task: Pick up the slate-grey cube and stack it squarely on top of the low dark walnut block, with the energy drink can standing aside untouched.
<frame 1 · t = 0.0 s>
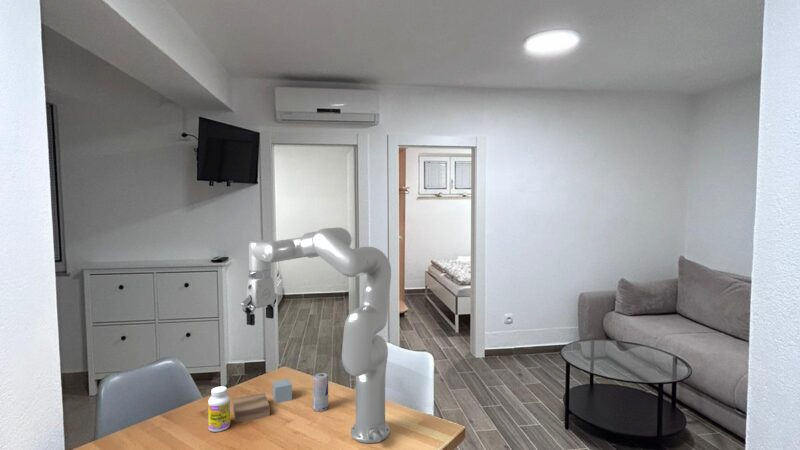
hand: (260, 321, 150), 31 cm above the table, tool pointing down, fingers open, 9 cm apart
supplement bottle: (219, 428, 136), on the table
slate cube: (282, 398, 157), on the table
energy drink: (320, 408, 149), on the table
walnut block: (250, 413, 146), on the table
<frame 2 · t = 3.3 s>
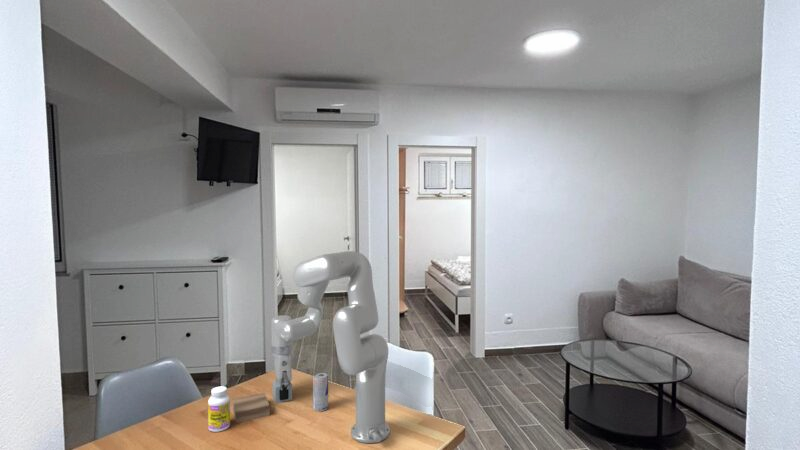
hand: (282, 395, 157), 1 cm above the table, tool pointing down, fingers closed on slate cube, 6 cm apart
slate cube: (282, 398, 157), on the table, touching gripper
everything else where it was.
when the fingers open (6 cm above the table, at t = 8.4 s): slate cube stays where it is, resting on walnut block.
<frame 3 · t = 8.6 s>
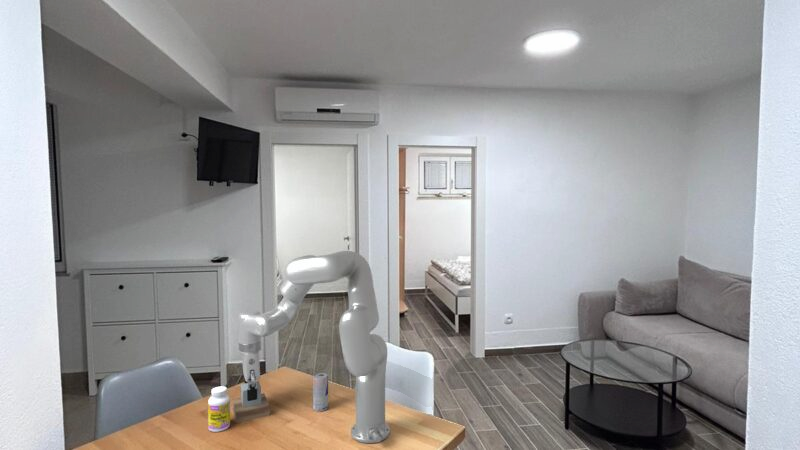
hand: (250, 394, 146), 6 cm above the table, tool pointing down, fingers open, 8 cm apart
slate cube: (251, 402, 146), point 4 cm above the table, touching walnut block
walnut block: (250, 413, 146), on the table, touching slate cube
everything else where it was.
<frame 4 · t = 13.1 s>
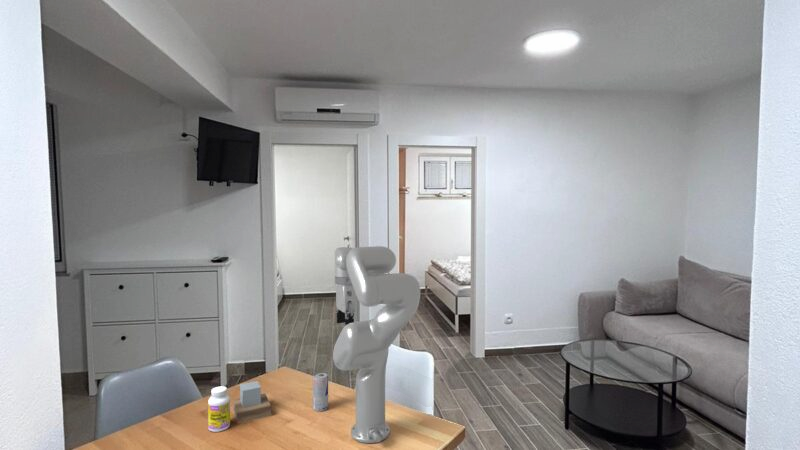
hand: (345, 326, 154), 28 cm above the table, tool pointing down, fingers open, 9 cm apart
nothing on the table moved.
at the end: slate cube inside the target area on the walnut block (0.6 cm from its centre), point 4.0 cm above the walnut block's base; slate cube tilted 0°; the gripper is holding nothing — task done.
